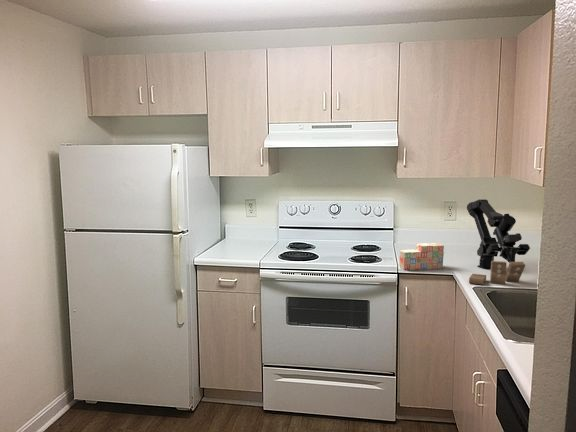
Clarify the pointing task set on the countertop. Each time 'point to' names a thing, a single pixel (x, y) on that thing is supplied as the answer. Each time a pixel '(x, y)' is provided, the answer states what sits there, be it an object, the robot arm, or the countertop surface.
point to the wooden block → (477, 279)
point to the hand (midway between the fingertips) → (513, 264)
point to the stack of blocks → (422, 257)
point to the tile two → (514, 271)
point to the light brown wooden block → (498, 272)
